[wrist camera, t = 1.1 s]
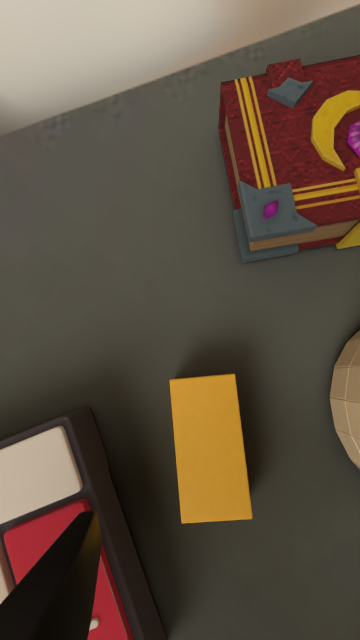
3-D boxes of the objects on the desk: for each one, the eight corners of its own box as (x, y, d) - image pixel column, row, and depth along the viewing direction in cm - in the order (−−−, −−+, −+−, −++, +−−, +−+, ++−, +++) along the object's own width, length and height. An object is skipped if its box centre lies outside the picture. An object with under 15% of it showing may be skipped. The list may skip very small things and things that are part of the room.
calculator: (-48, 799, 15) (-122, 490, 17) (7, 700, 19) (-58, 463, 21) (162, 715, 15) (61, 415, 17) (170, 635, 19) (89, 404, 21)
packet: (247, 501, 19) (253, 519, 17) (184, 505, 20) (181, 524, 17) (231, 373, 21) (235, 373, 18) (173, 379, 21) (169, 379, 19)
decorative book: (215, 130, 24) (218, 68, 19) (424, 90, 23) (483, 15, 18) (241, 266, 22) (252, 235, 17) (473, 227, 21) (553, 183, 16)
